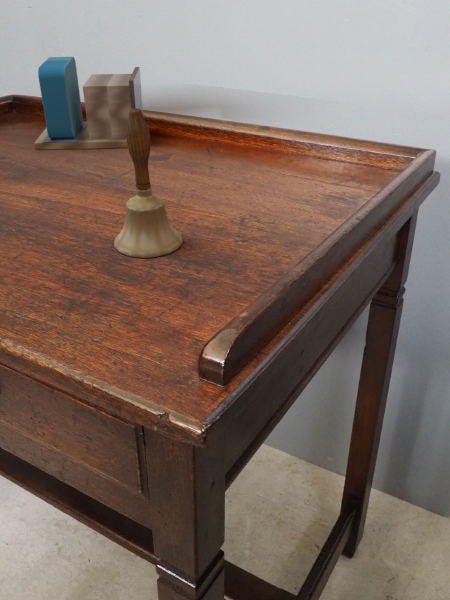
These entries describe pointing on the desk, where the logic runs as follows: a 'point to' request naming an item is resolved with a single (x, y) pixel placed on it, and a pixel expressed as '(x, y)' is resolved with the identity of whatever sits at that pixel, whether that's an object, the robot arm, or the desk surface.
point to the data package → (60, 97)
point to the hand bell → (144, 203)
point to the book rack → (102, 113)
